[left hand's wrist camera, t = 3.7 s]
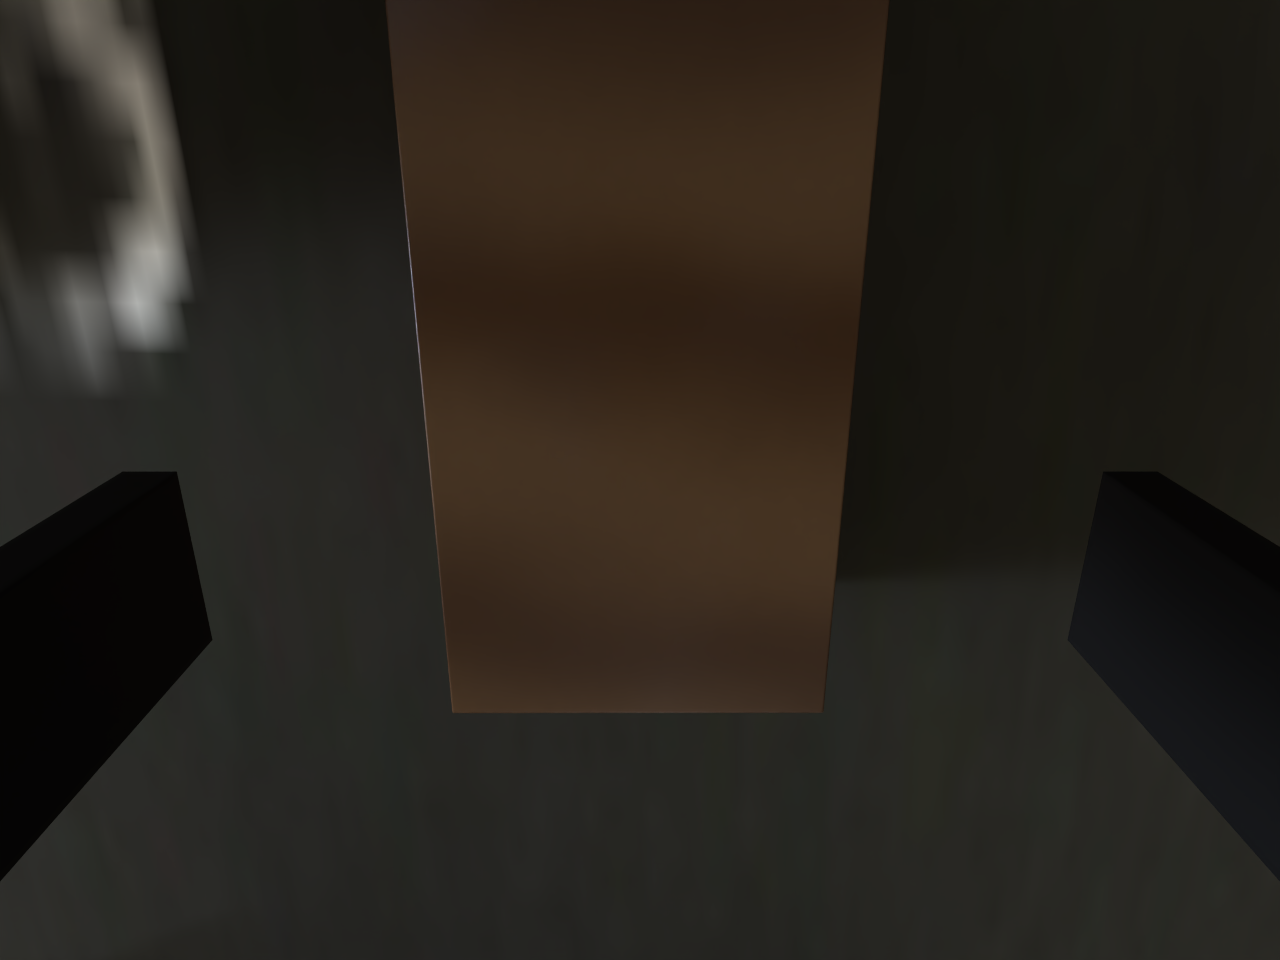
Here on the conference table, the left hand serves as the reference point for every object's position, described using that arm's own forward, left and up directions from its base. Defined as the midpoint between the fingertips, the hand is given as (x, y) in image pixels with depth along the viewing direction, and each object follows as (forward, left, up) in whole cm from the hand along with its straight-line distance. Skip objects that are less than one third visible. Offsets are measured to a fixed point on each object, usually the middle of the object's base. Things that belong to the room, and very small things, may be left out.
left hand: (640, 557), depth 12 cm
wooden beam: (+14, +10, -14) cm, 22 cm away
